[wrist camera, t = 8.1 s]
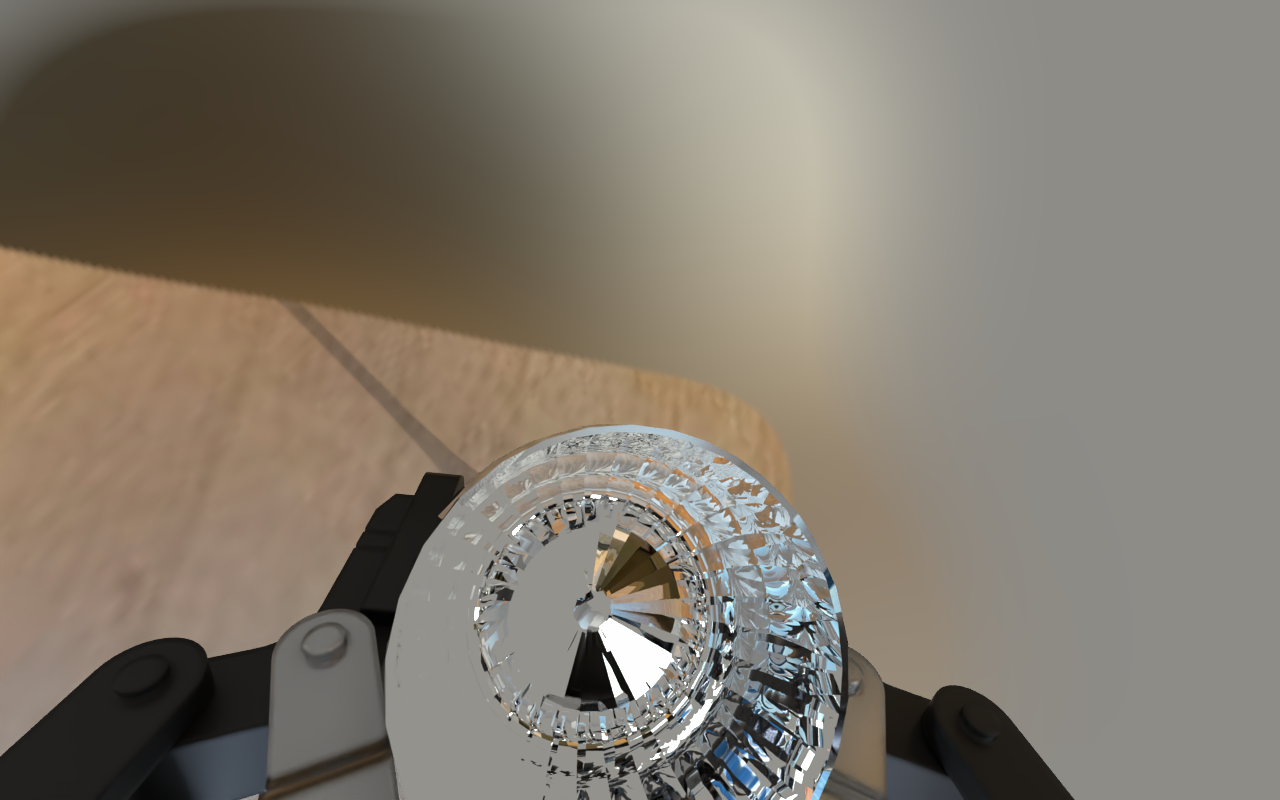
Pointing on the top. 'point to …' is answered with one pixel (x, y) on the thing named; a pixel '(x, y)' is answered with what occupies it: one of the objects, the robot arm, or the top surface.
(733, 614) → the wineglass
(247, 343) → the top surface
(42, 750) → the robot arm
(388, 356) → the top surface
